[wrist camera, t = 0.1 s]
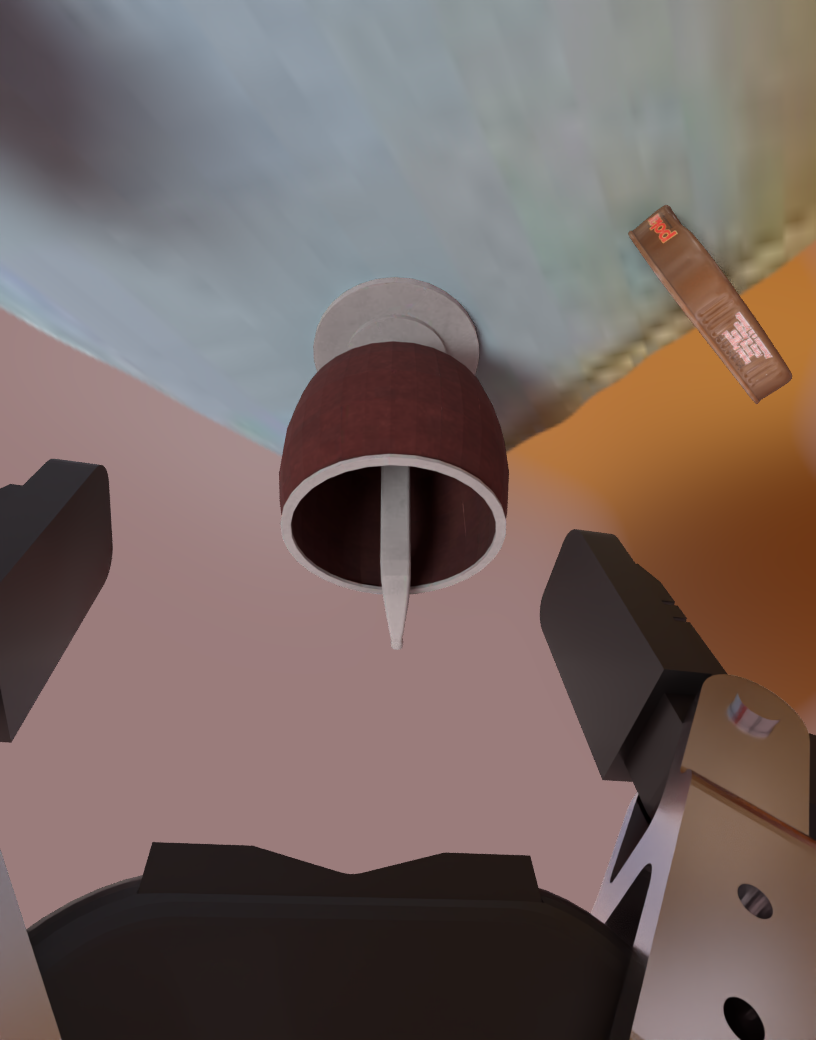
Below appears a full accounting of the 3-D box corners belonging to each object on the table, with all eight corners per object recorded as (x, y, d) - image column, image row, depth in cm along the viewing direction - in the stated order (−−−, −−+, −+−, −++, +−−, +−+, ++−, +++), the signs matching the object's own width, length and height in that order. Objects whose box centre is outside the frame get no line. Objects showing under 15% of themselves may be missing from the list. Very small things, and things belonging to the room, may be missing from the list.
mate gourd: (288, 266, 40) (235, 496, 27) (499, 264, 39) (542, 493, 27) (318, 438, 52) (290, 651, 39) (479, 436, 52) (503, 649, 39)
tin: (612, 212, 37) (647, 285, 32) (659, 172, 35) (704, 243, 30) (720, 353, 45) (762, 430, 40) (763, 326, 43) (813, 403, 38)
